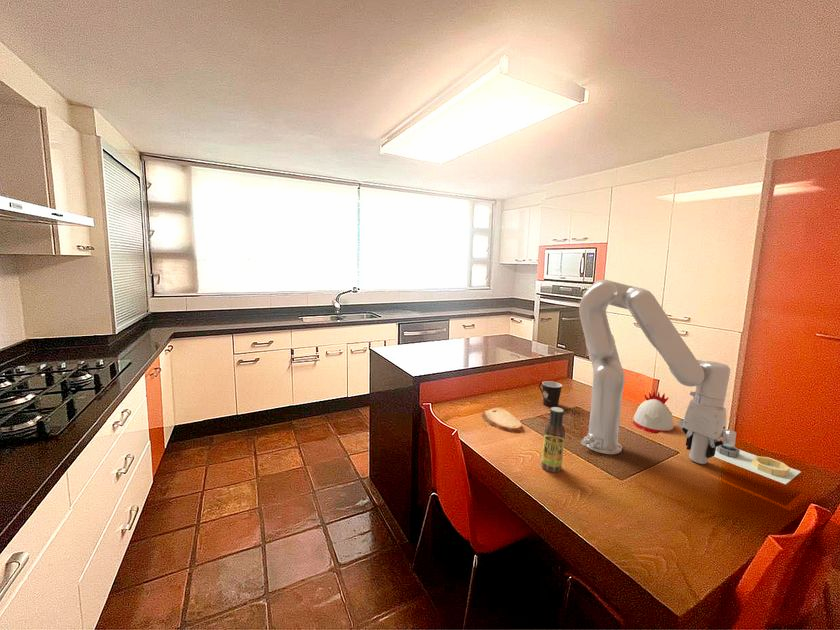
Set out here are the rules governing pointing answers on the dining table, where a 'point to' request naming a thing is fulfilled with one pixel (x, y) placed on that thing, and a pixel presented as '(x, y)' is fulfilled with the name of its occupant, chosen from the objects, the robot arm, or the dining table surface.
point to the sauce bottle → (553, 441)
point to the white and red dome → (654, 415)
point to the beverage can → (699, 448)
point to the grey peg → (733, 437)
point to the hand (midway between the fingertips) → (699, 452)
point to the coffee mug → (551, 393)
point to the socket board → (748, 466)
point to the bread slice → (502, 420)
